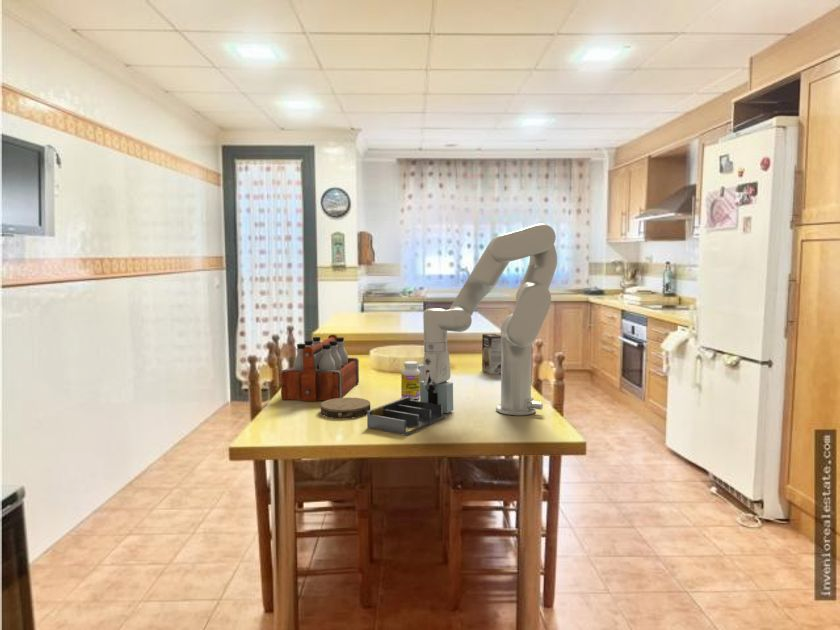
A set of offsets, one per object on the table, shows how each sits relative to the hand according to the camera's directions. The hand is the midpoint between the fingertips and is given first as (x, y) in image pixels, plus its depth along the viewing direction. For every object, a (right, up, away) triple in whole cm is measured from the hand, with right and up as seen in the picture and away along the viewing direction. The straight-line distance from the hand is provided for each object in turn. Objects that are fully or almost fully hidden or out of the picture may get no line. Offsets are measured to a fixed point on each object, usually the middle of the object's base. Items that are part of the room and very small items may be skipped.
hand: (436, 402), depth 188 cm
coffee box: (+26, +3, +64) cm, 69 cm away
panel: (0, -2, 0) cm, 2 cm away
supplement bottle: (-9, -1, +17) cm, 19 cm away
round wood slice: (-29, -3, 0) cm, 30 cm away
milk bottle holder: (-42, -1, +28) cm, 50 cm away
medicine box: (-2, 0, +35) cm, 35 cm away
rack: (-9, -4, -13) cm, 17 cm away
